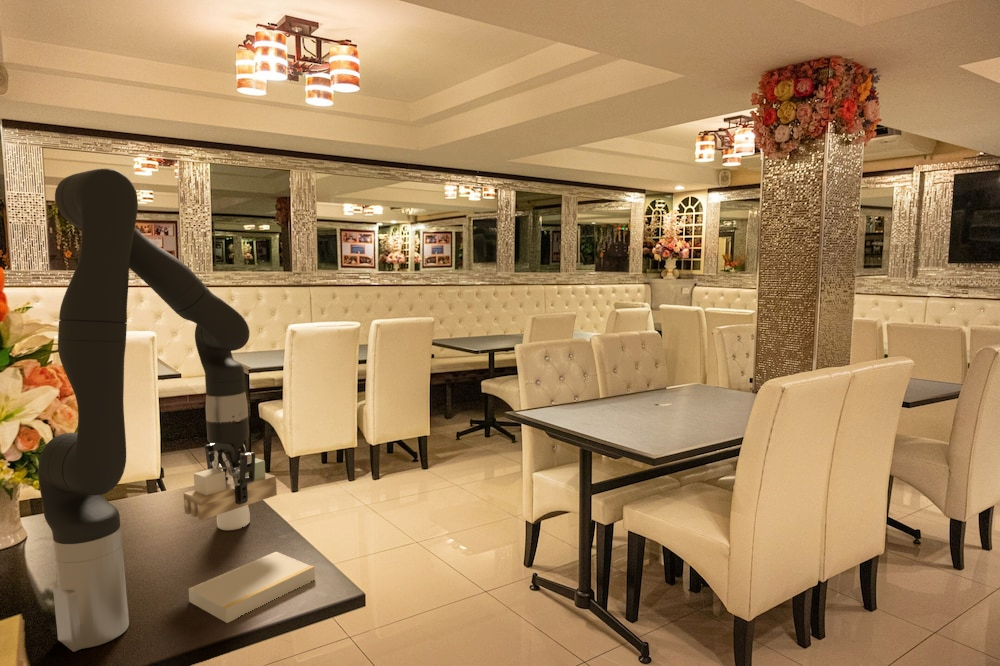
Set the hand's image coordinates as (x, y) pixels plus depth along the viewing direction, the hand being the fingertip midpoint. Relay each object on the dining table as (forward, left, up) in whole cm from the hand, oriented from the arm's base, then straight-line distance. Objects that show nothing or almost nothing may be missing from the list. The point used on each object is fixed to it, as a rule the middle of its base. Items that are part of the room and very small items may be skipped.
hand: (232, 499), depth 129 cm
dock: (-4, -12, -14) cm, 19 cm away
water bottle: (+11, +19, -14) cm, 26 cm away
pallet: (0, 0, -1) cm, 1 cm away
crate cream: (-4, 0, +3) cm, 5 cm away
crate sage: (+4, 0, +3) cm, 5 cm away
